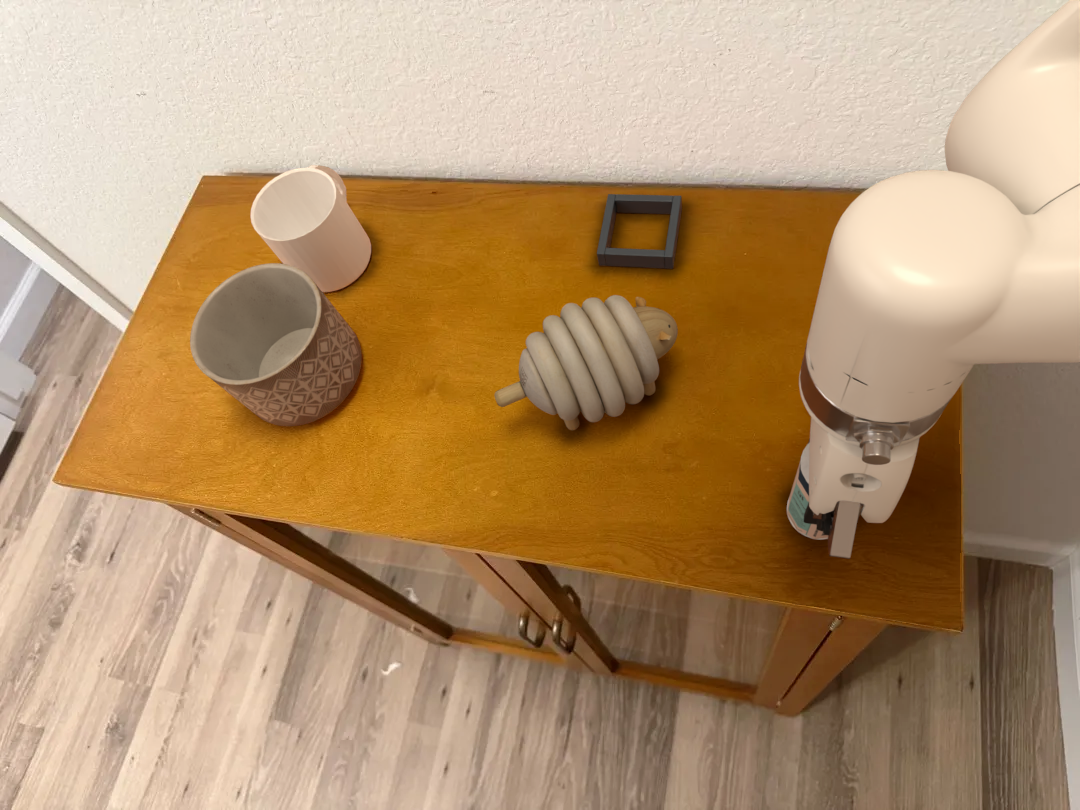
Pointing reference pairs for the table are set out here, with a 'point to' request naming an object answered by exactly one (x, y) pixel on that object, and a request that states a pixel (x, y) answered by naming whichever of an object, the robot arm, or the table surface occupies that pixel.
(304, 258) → the mug
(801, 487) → the beer can
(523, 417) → the table surface
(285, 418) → the planter
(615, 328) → the toy sheep
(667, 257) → the holder
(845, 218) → the robot arm
